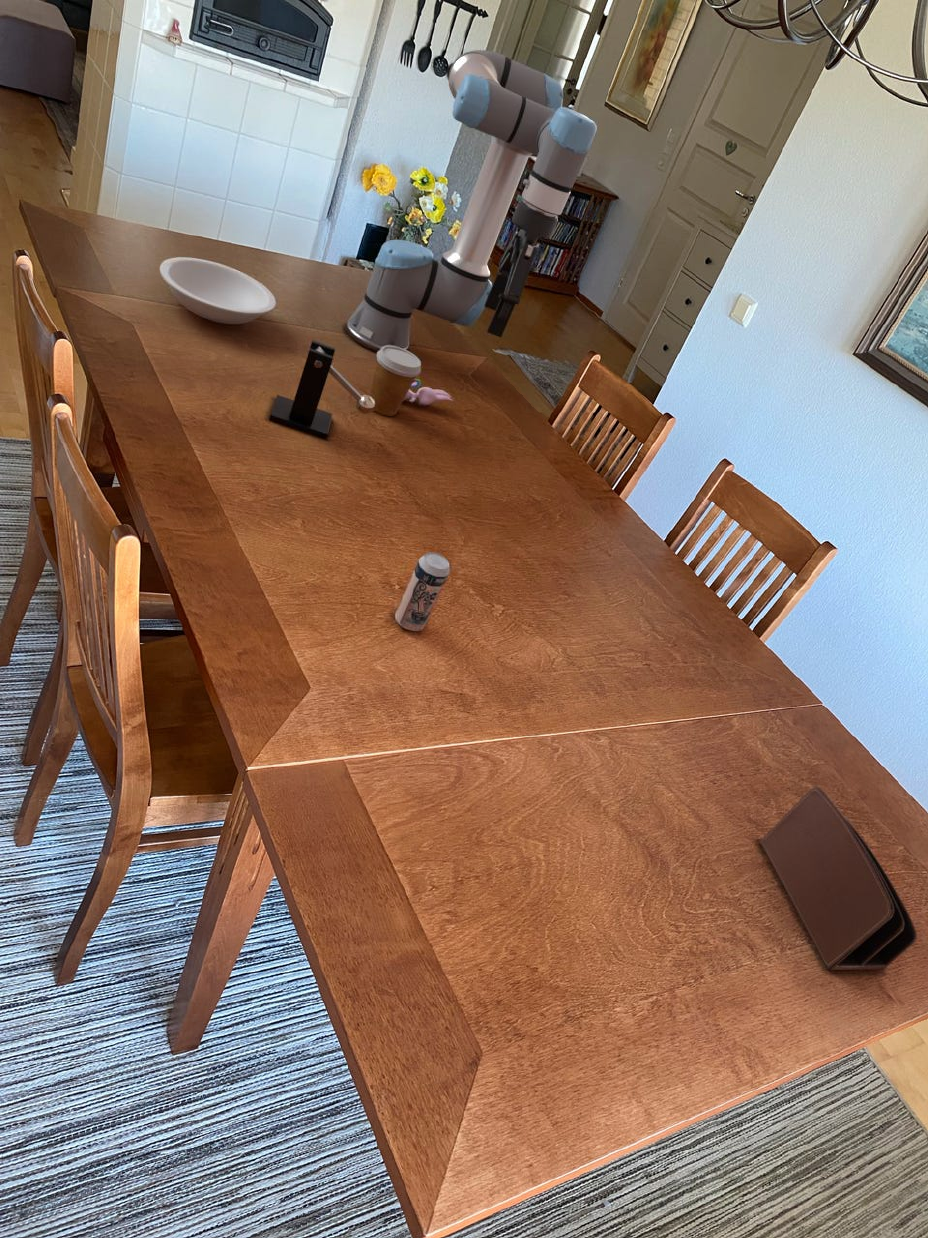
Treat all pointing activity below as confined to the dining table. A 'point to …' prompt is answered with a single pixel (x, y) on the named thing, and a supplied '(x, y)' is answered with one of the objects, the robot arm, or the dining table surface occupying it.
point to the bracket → (307, 396)
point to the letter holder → (838, 887)
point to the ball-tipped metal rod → (353, 391)
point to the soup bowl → (216, 290)
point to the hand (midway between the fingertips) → (492, 321)
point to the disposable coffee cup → (393, 378)
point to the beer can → (422, 591)
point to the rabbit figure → (426, 394)
